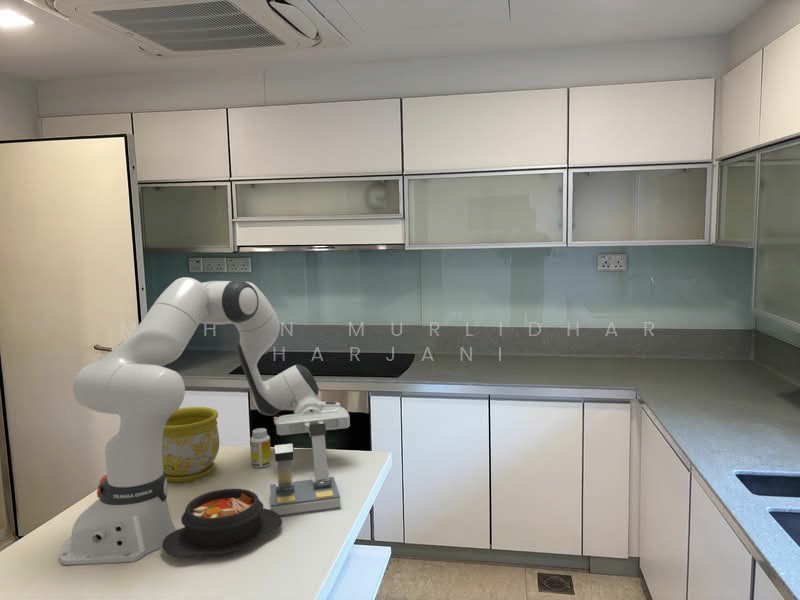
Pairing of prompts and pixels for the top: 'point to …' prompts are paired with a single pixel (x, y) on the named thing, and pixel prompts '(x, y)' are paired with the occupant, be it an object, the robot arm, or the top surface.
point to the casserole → (221, 524)
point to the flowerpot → (190, 443)
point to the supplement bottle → (260, 448)
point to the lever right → (319, 455)
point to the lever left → (284, 467)
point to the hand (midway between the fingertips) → (315, 431)
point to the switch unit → (305, 498)
